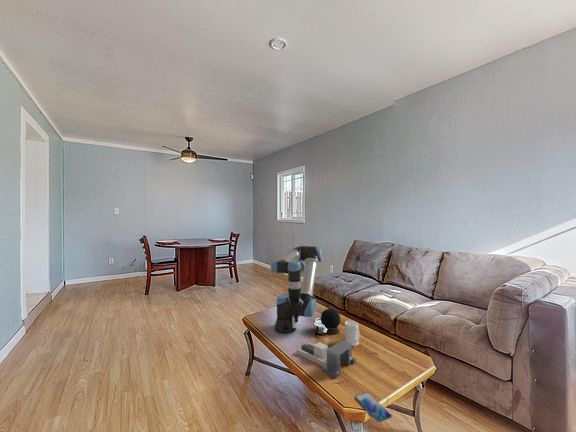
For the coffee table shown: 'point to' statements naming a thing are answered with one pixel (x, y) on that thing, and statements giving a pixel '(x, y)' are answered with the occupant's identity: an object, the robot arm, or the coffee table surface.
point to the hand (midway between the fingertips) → (294, 327)
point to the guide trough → (311, 356)
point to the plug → (317, 350)
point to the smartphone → (373, 407)
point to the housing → (338, 358)
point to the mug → (352, 333)
